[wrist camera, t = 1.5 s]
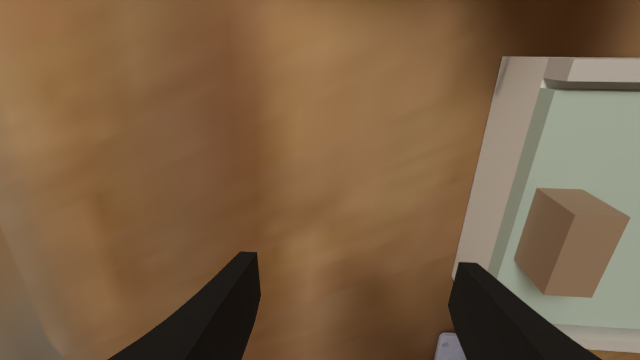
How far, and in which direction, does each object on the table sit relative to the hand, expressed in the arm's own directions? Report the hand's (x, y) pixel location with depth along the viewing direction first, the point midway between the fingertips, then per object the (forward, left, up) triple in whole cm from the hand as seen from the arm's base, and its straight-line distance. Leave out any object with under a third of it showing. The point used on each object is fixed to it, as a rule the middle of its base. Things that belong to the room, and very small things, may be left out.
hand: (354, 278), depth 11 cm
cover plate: (0, -15, -6) cm, 16 cm away
